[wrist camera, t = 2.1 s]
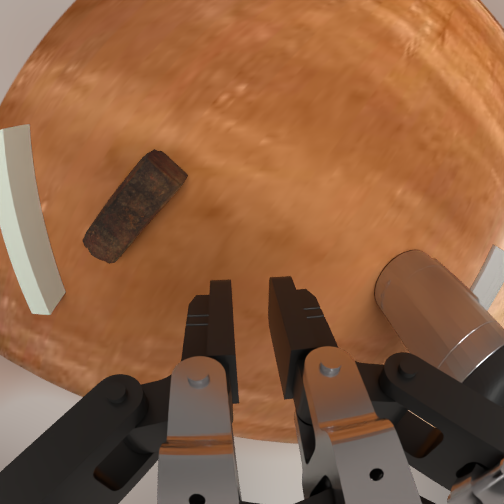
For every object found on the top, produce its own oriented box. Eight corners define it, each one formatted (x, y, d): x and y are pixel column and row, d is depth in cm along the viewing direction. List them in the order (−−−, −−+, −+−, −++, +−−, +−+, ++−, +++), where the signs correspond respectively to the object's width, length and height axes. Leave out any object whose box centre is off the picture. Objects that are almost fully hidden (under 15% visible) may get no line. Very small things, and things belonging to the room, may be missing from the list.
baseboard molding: (514, 257, 35) (489, 241, 32) (524, 265, 32) (501, 250, 30) (434, 380, 47) (398, 384, 45) (439, 390, 45) (404, 394, 42)
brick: (158, 145, 23) (144, 152, 19) (189, 174, 25) (182, 187, 20) (94, 226, 26) (75, 246, 22) (122, 250, 27) (107, 273, 23)
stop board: (29, 123, 20) (3, 128, 16) (65, 292, 29) (50, 314, 25) (11, 130, 19) (-15, 137, 15) (48, 291, 28) (32, 313, 24)
